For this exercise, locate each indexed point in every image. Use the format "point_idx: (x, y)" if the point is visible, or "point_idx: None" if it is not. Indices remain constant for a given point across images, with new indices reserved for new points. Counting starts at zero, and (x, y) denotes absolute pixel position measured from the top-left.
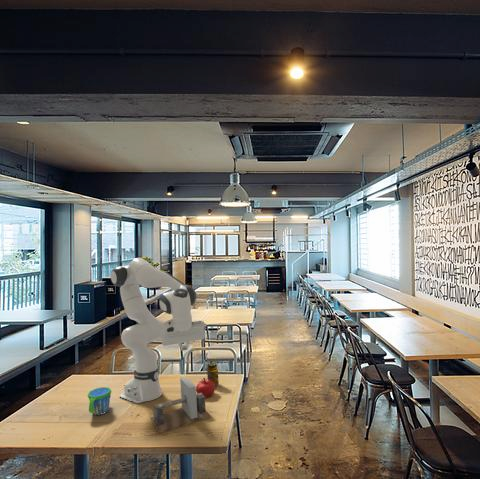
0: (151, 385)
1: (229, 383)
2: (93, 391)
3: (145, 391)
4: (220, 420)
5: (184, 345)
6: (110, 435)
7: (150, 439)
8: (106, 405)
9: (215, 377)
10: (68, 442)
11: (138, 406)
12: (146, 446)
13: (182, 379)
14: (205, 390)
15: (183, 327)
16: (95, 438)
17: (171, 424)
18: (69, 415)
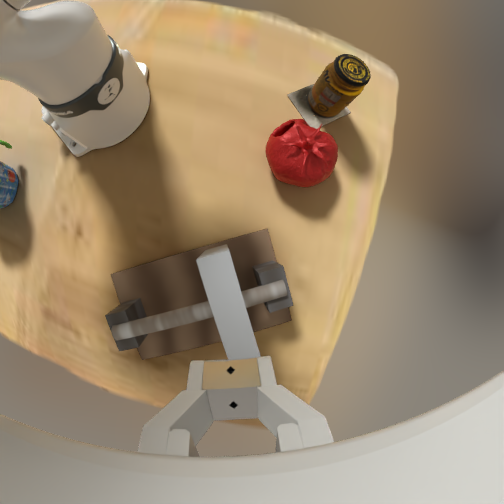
0: (99, 120)
1: (371, 113)
2: None
3: (85, 136)
4: (313, 340)
5: (241, 393)
6: (40, 319)
7: (128, 374)
8: (3, 198)
9: (344, 104)
10: None
11: (78, 175)
12: (125, 396)
13: (207, 278)
14: (300, 183)
15: None
16: (19, 318)
17: (173, 339)
18: None
